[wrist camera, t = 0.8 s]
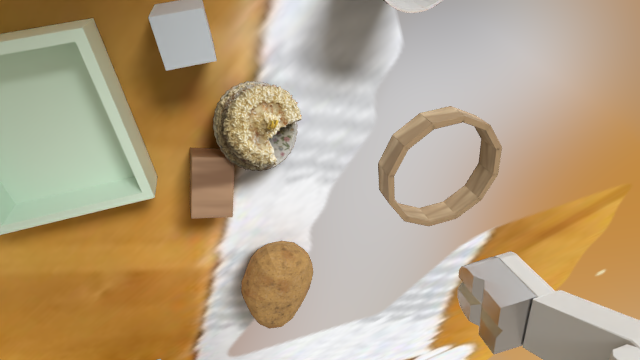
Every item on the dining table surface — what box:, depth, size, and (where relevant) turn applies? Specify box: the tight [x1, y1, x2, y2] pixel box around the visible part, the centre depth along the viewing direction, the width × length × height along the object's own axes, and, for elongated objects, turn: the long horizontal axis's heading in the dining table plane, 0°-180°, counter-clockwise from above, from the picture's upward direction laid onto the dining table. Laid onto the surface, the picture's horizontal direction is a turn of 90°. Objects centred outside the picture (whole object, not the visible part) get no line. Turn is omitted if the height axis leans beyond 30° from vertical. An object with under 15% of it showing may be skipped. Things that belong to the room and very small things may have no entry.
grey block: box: [148, 0, 217, 71], centre depth 38 cm, size 4×4×7 cm
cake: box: [213, 81, 302, 171], centre depth 43 cm, size 10×10×5 cm
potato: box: [241, 241, 313, 328], centre depth 57 cm, size 10×14×8 cm
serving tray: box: [0, 18, 158, 235], centre depth 40 cm, size 18×16×5 cm
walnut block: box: [190, 148, 235, 218], centre depth 47 cm, size 4×4×7 cm
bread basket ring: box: [378, 106, 502, 226], centre depth 57 cm, size 17×17×4 cm
